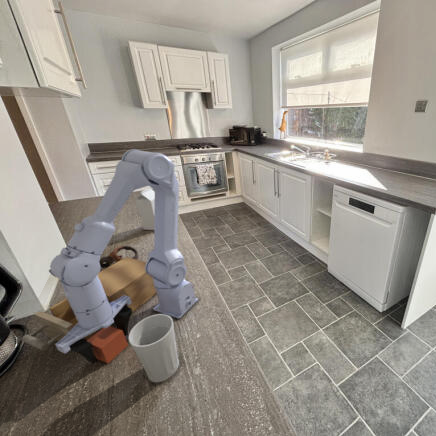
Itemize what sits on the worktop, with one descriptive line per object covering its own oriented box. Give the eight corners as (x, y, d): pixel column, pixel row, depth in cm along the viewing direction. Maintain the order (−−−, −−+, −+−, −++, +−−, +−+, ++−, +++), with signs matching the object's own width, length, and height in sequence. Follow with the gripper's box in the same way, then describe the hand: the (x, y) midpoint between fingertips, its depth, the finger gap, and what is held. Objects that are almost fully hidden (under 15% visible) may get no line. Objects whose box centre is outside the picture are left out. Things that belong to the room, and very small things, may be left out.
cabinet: (119, 322, 64) (110, 296, 61) (87, 310, 68) (76, 285, 64) (162, 288, 77) (156, 264, 73) (133, 279, 81) (126, 256, 77)
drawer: (56, 367, 52) (42, 344, 49) (24, 351, 55) (9, 328, 52) (130, 309, 68) (123, 289, 64) (101, 299, 71) (93, 279, 68)
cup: (188, 351, 57) (179, 313, 52) (174, 386, 50) (162, 346, 45) (154, 351, 57) (142, 314, 52) (135, 386, 50) (119, 347, 45)
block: (128, 345, 58) (122, 330, 56) (108, 363, 54) (101, 348, 52) (113, 339, 60) (107, 324, 58) (92, 356, 55) (85, 341, 53)
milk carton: (166, 224, 119) (158, 187, 111) (157, 230, 113) (148, 192, 105) (153, 223, 120) (144, 186, 112) (143, 229, 113) (133, 191, 105)
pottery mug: (127, 256, 94) (133, 241, 91) (139, 273, 91) (145, 258, 87) (90, 264, 84) (95, 247, 80) (101, 284, 80) (107, 267, 77)
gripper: (63, 335, 43) (88, 382, 49) (134, 285, 56) (148, 327, 61) (38, 324, 45) (65, 371, 51) (112, 278, 58) (127, 320, 63)
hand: (109, 346), depth 56 cm, fingers open, 7 cm apart
